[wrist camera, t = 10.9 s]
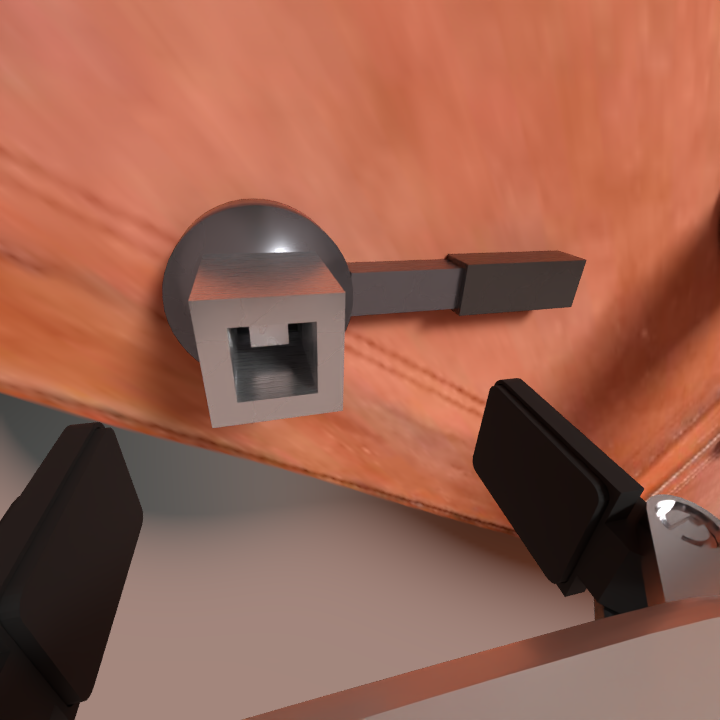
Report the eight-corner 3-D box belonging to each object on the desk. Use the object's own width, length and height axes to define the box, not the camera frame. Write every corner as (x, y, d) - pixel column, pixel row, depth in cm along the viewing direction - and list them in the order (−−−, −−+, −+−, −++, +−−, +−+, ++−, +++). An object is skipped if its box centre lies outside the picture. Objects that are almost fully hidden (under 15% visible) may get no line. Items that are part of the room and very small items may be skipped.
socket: (315, 251, 18) (345, 292, 13) (317, 345, 20) (342, 410, 15) (203, 254, 17) (187, 301, 12) (218, 353, 19) (212, 428, 14)
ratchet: (572, 201, 23) (654, 214, 19) (534, 333, 28) (593, 371, 23) (152, 197, 17) (120, 216, 13) (188, 367, 22) (174, 427, 17)
